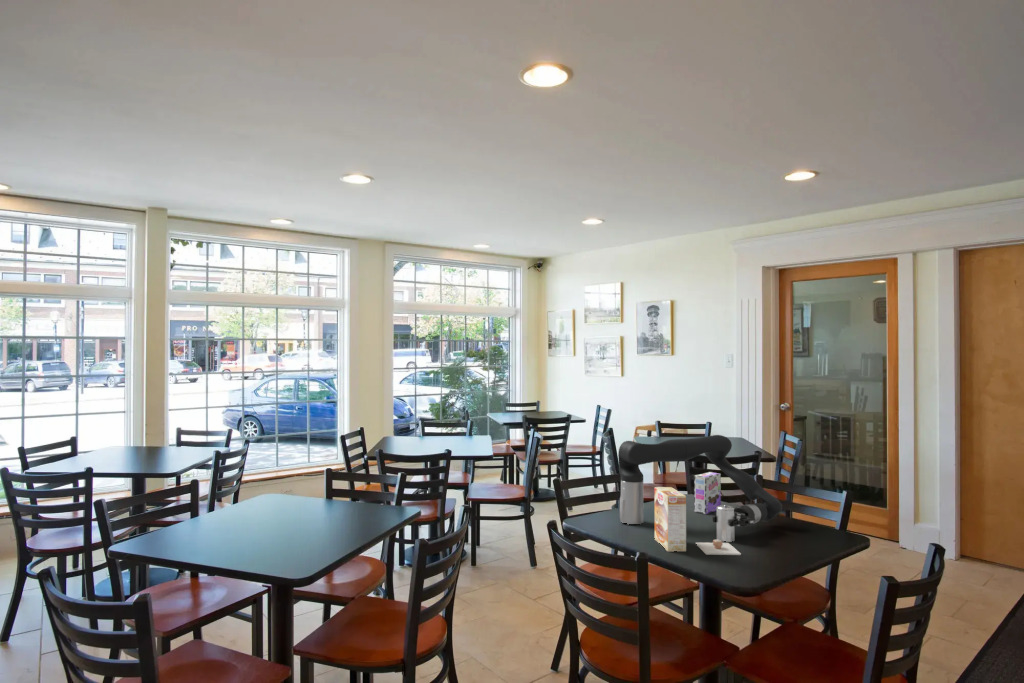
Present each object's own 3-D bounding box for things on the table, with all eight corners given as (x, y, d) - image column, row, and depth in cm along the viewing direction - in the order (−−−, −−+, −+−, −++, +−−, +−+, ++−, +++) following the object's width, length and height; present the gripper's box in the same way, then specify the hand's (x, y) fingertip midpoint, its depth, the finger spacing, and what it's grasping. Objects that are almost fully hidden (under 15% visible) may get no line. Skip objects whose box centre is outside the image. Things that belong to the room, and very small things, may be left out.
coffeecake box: (653, 539, 220) (653, 486, 221) (672, 538, 221) (672, 486, 221) (667, 552, 205) (667, 495, 206) (686, 551, 206) (686, 495, 206)
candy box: (705, 514, 257) (705, 476, 257) (693, 512, 261) (693, 474, 262) (721, 509, 266) (721, 473, 267) (709, 507, 270) (709, 471, 271)
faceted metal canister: (720, 541, 218) (720, 507, 218) (714, 536, 224) (714, 503, 224) (736, 542, 218) (736, 507, 218) (730, 537, 224) (730, 503, 224)
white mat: (706, 554, 203) (706, 553, 203) (695, 543, 215) (695, 542, 215) (740, 555, 203) (740, 553, 203) (728, 544, 215) (728, 542, 215)
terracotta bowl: (714, 549, 207) (714, 541, 207) (711, 546, 210) (711, 539, 211) (723, 549, 207) (723, 542, 207) (720, 546, 210) (720, 539, 210)
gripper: (730, 501, 235) (705, 507, 225) (763, 509, 224) (739, 515, 214) (730, 520, 235) (705, 527, 225) (764, 528, 224) (739, 536, 214)
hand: (722, 521), depth 219 cm, fingers closed on faceted metal canister, 6 cm apart
